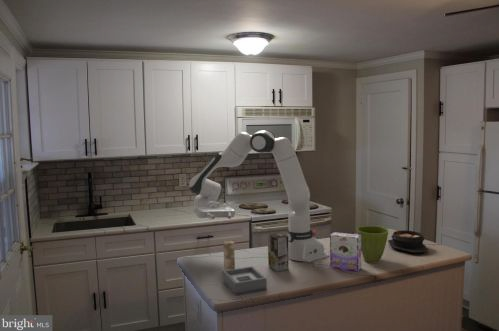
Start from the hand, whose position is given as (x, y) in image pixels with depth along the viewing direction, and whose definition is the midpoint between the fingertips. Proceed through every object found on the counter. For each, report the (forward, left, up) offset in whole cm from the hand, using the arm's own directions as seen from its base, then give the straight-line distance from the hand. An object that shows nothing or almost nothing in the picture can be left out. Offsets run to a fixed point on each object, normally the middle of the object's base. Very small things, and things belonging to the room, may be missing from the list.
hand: (221, 217), depth 204 cm
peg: (0, +10, -24) cm, 26 cm away
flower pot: (-70, +27, -24) cm, 79 cm away
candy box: (-52, +30, -24) cm, 65 cm away
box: (0, +30, -24) cm, 38 cm away
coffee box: (-23, +16, -24) cm, 37 cm away
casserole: (-100, +19, -24) cm, 104 cm away
